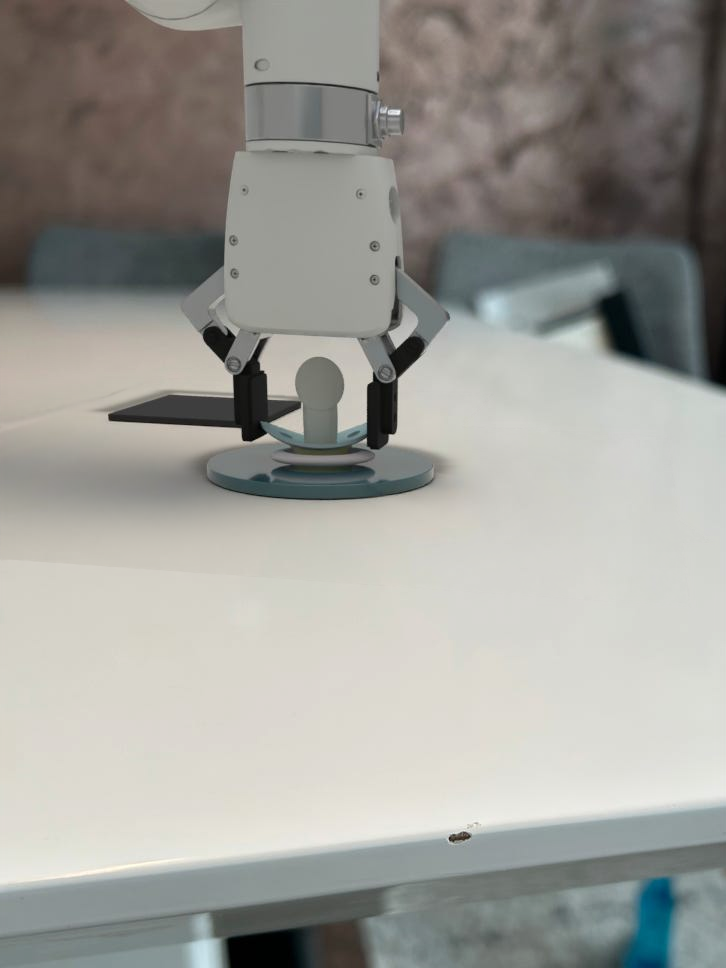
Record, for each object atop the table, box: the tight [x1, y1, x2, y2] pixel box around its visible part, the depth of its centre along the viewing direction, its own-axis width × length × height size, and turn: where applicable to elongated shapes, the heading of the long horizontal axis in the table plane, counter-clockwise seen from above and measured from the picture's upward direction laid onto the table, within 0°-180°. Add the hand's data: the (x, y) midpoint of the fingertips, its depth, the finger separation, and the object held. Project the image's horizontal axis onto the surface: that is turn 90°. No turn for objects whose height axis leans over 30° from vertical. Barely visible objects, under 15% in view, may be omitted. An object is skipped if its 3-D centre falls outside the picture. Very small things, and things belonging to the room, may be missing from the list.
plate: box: [206, 442, 435, 500], centre depth 69 cm, size 14×14×1 cm
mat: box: [107, 394, 302, 428], centre depth 91 cm, size 12×12×1 cm
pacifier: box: [261, 356, 375, 466], centre depth 68 cm, size 7×6×6 cm
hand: (316, 440), depth 69 cm, fingers closed on pacifier, 7 cm apart
